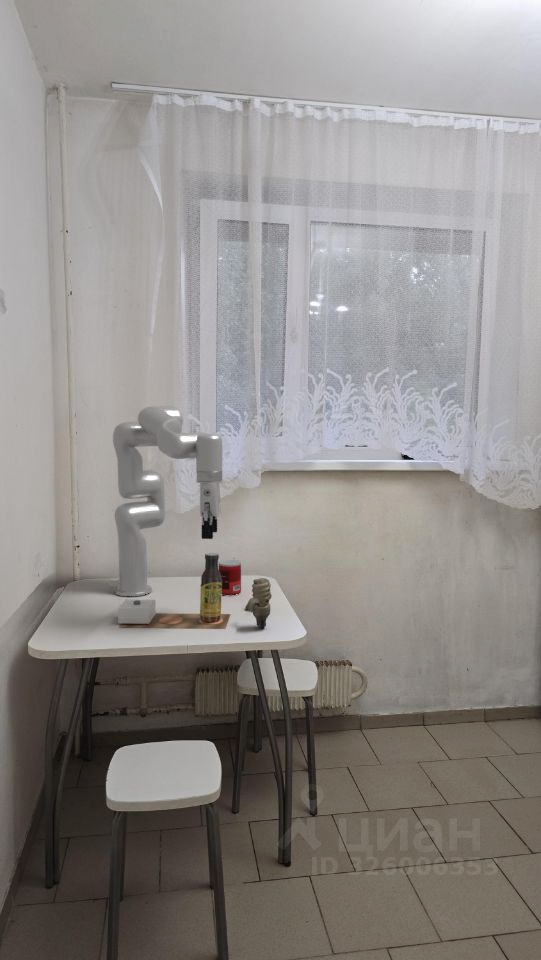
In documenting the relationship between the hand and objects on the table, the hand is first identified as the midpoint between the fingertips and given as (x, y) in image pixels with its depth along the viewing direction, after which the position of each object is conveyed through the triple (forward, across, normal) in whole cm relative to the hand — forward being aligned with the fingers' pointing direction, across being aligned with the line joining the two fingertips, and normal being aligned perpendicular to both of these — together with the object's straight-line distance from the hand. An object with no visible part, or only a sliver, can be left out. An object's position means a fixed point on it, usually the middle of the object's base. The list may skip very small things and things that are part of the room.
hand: (209, 535), depth 190 cm
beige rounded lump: (+27, +14, -14) cm, 34 cm away
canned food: (+27, +34, -2) cm, 44 cm away
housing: (+26, 0, +22) cm, 34 cm away
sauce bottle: (+26, 0, 0) cm, 26 cm away
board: (+27, 0, +10) cm, 29 cm away
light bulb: (+27, -4, -16) cm, 31 cm away
